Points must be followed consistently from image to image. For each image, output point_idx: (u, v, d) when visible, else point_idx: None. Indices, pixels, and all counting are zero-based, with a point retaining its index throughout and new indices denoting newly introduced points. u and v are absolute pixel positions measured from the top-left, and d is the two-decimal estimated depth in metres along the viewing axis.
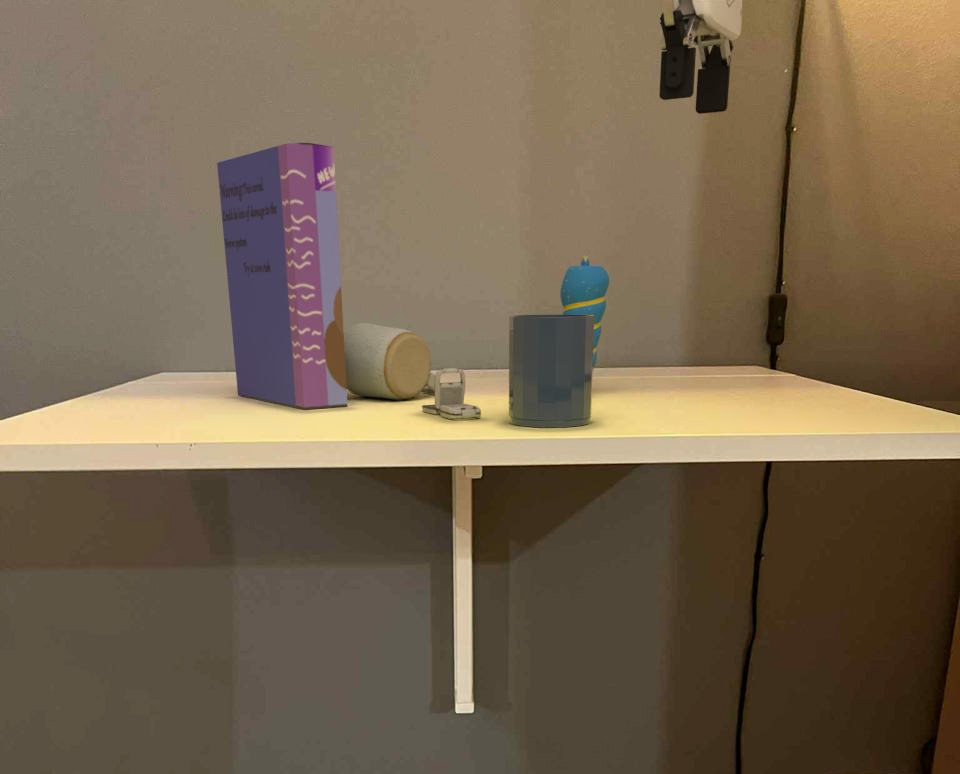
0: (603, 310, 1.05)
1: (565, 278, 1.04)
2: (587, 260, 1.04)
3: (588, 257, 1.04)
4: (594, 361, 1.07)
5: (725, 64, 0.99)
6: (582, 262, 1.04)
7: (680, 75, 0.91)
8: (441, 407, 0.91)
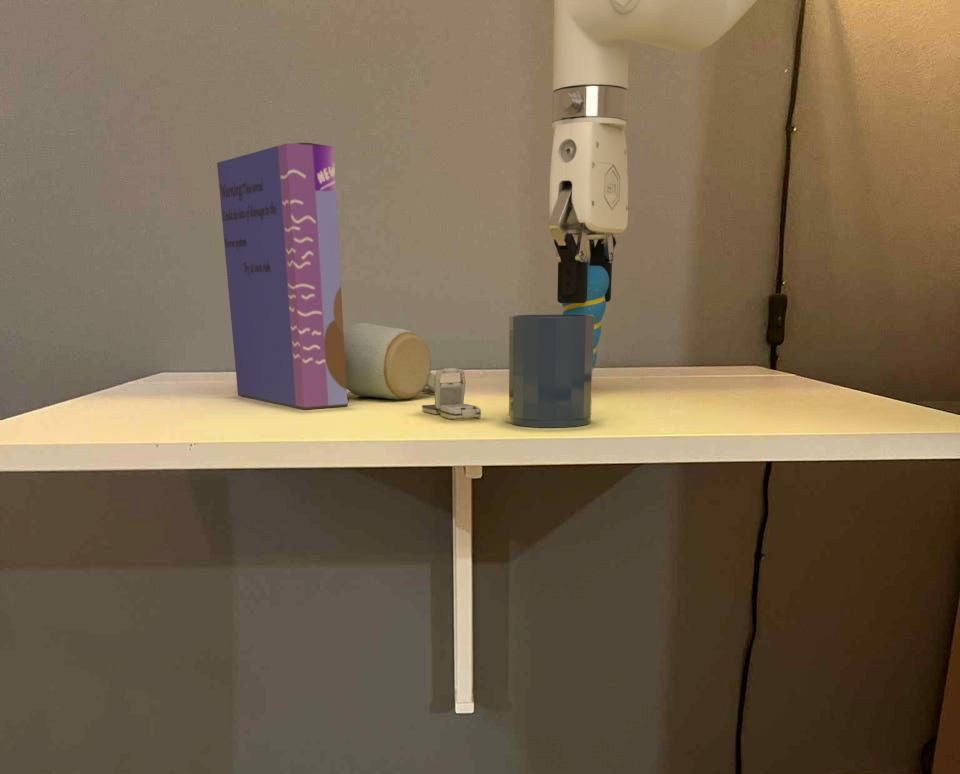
0: (603, 310, 1.05)
1: None
2: (587, 260, 1.04)
3: (588, 257, 1.04)
4: (594, 361, 1.07)
5: (607, 260, 1.06)
6: None
7: (574, 286, 1.02)
8: (441, 407, 0.91)
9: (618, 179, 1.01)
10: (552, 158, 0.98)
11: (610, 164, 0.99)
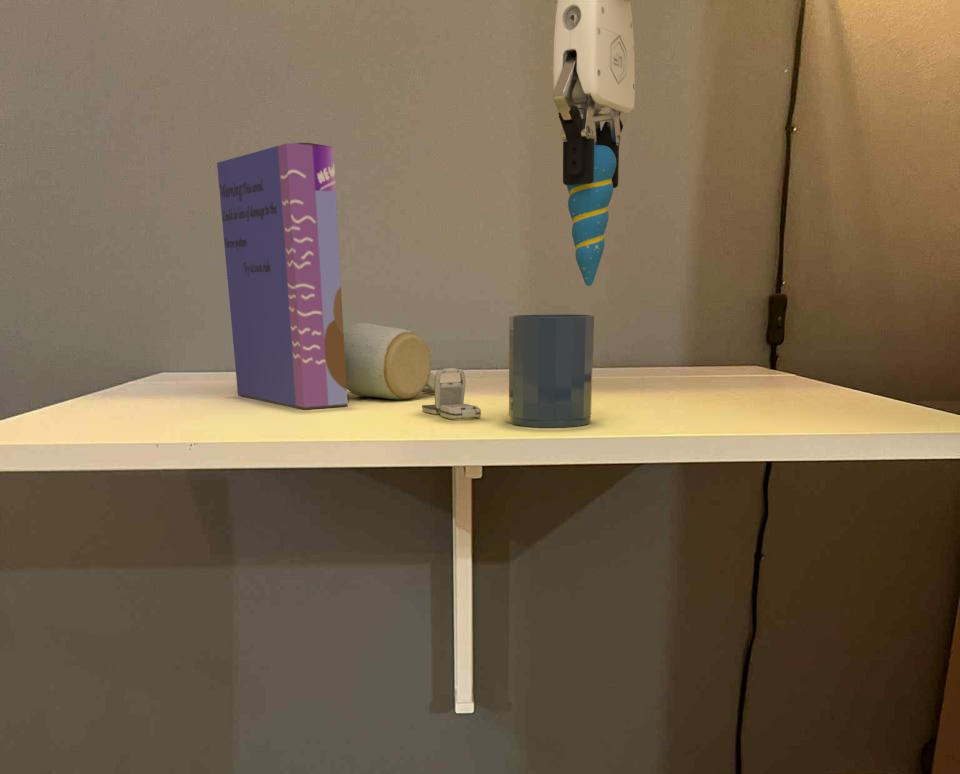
0: (610, 193, 1.01)
1: None
2: None
3: (594, 137, 1.00)
4: (602, 249, 1.03)
5: (614, 143, 1.02)
6: None
7: (580, 164, 0.98)
8: (441, 407, 0.91)
9: (624, 52, 0.97)
10: (556, 27, 0.94)
11: (616, 34, 0.95)
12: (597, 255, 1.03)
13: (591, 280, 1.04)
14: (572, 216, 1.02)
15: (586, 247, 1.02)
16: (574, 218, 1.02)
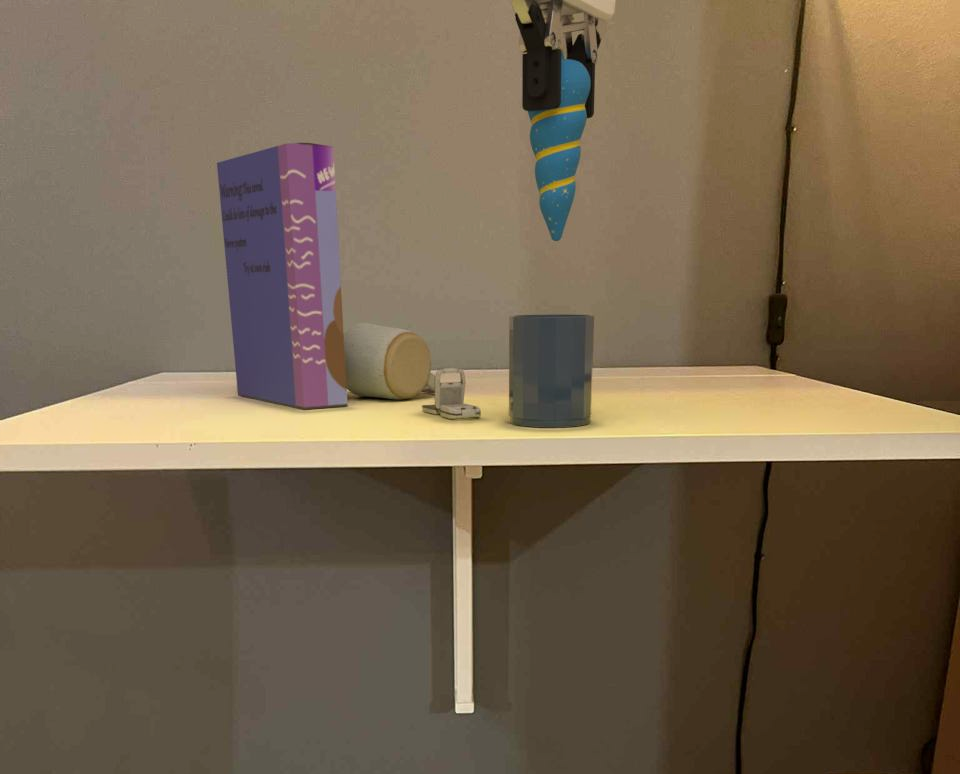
0: (583, 123, 0.80)
1: None
2: (561, 54, 0.79)
3: (562, 49, 0.79)
4: (572, 194, 0.82)
5: (589, 60, 0.81)
6: None
7: (543, 82, 0.76)
8: (441, 407, 0.91)
9: None
10: None
11: None
12: (566, 201, 0.82)
13: (558, 234, 0.83)
14: (535, 152, 0.81)
15: (552, 191, 0.81)
16: (537, 154, 0.81)
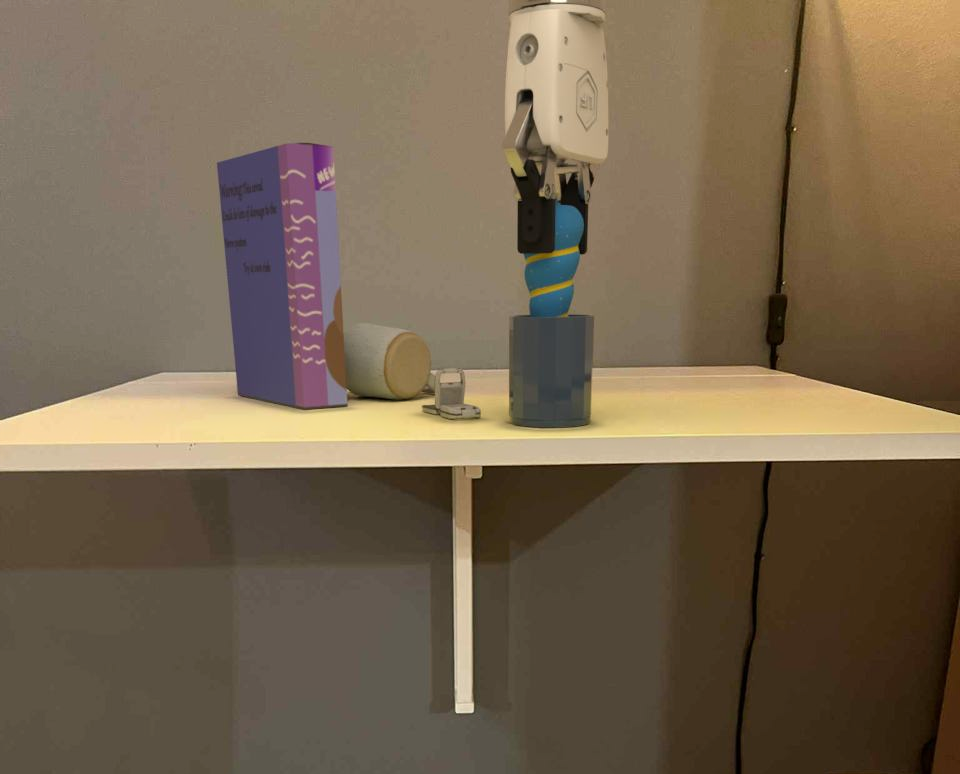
0: (576, 263, 0.82)
1: None
2: (555, 198, 0.81)
3: (556, 194, 0.81)
4: None
5: (583, 201, 0.83)
6: None
7: (538, 230, 0.79)
8: (441, 407, 0.91)
9: (595, 91, 0.78)
10: (508, 60, 0.75)
11: (584, 70, 0.76)
12: None
13: None
14: (529, 289, 0.83)
15: None
16: (532, 292, 0.83)
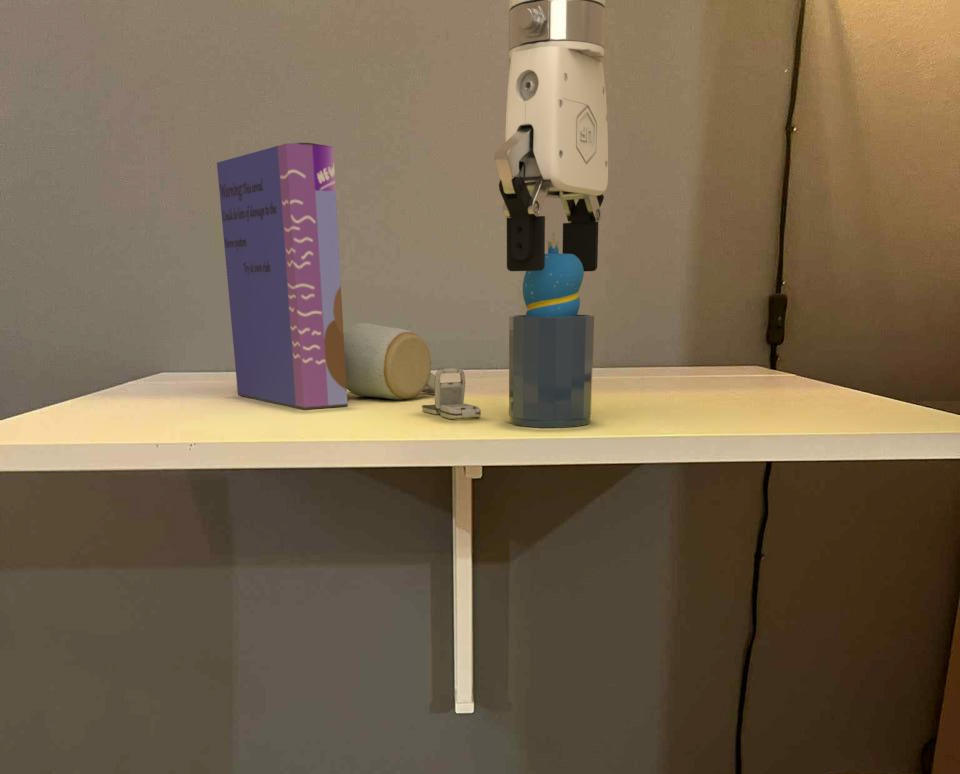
0: (576, 310, 0.83)
1: None
2: (556, 247, 0.82)
3: (556, 243, 0.82)
4: None
5: (593, 219, 0.85)
6: (549, 249, 0.82)
7: (527, 247, 0.77)
8: (441, 407, 0.91)
9: (594, 125, 0.79)
10: (508, 96, 0.76)
11: (583, 104, 0.77)
12: None
13: None
14: None
15: None
16: None
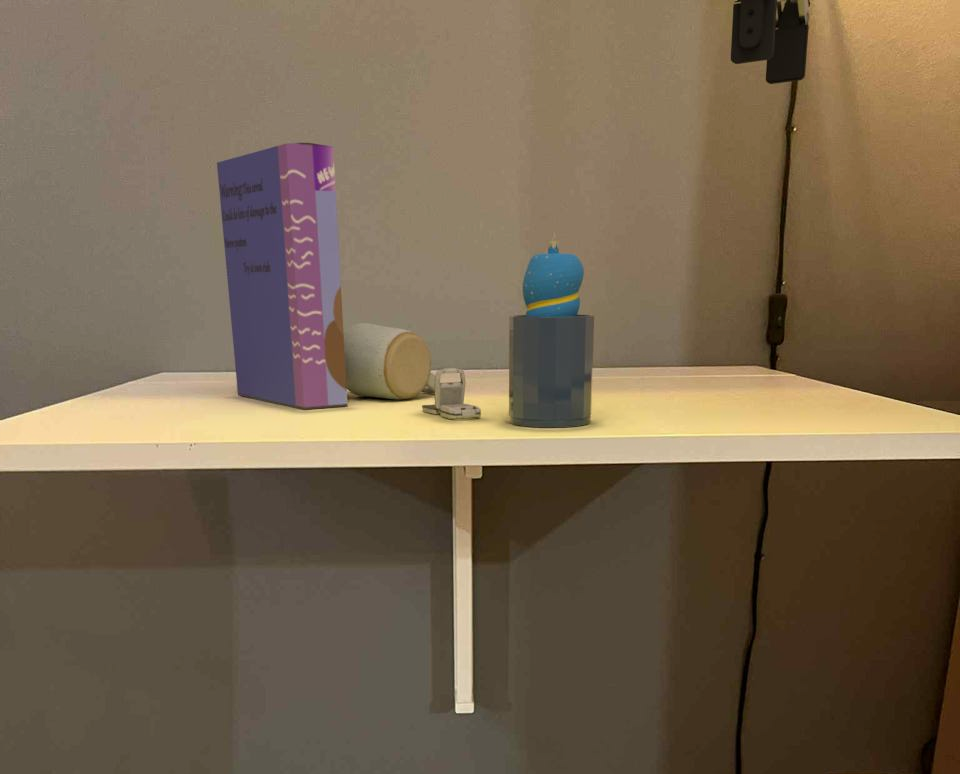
0: (576, 310, 0.83)
1: (528, 269, 0.82)
2: (556, 247, 0.82)
3: (556, 243, 0.82)
4: None
5: (802, 23, 0.82)
6: (549, 249, 0.82)
7: (759, 32, 0.74)
8: (441, 407, 0.91)
9: None
10: None
11: None
12: None
13: None
14: None
15: None
16: None
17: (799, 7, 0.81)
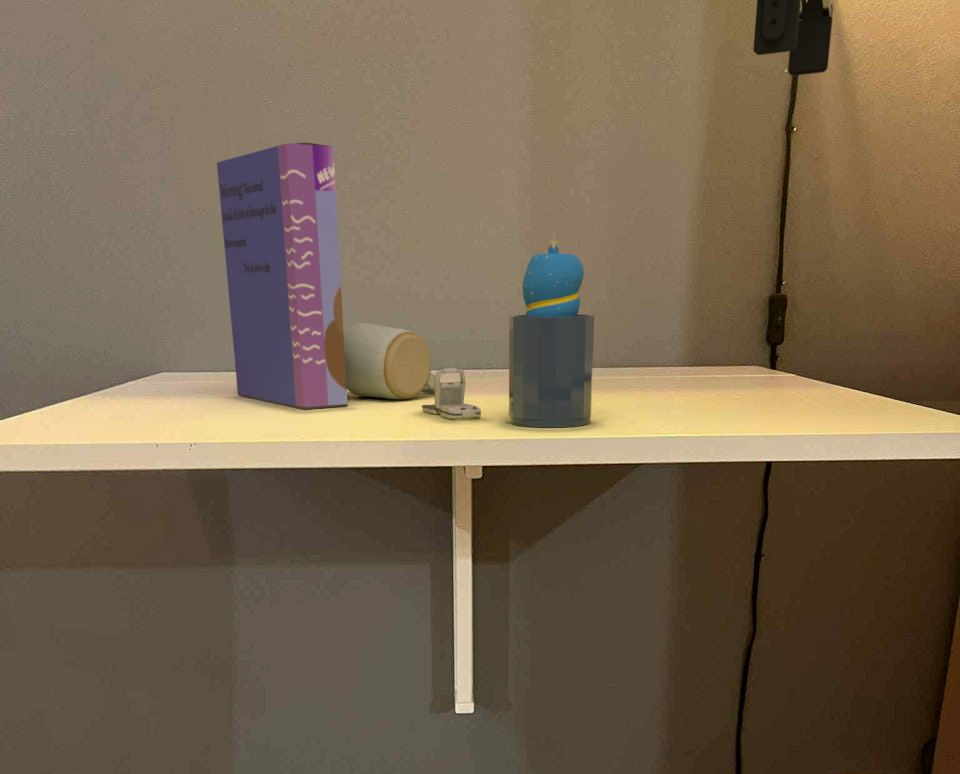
0: (576, 310, 0.83)
1: (528, 269, 0.82)
2: (556, 247, 0.82)
3: (556, 243, 0.82)
4: None
5: (826, 15, 0.82)
6: (549, 249, 0.82)
7: (782, 23, 0.74)
8: (441, 407, 0.91)
9: None
10: None
11: None
12: None
13: None
14: None
15: None
16: None
17: None
